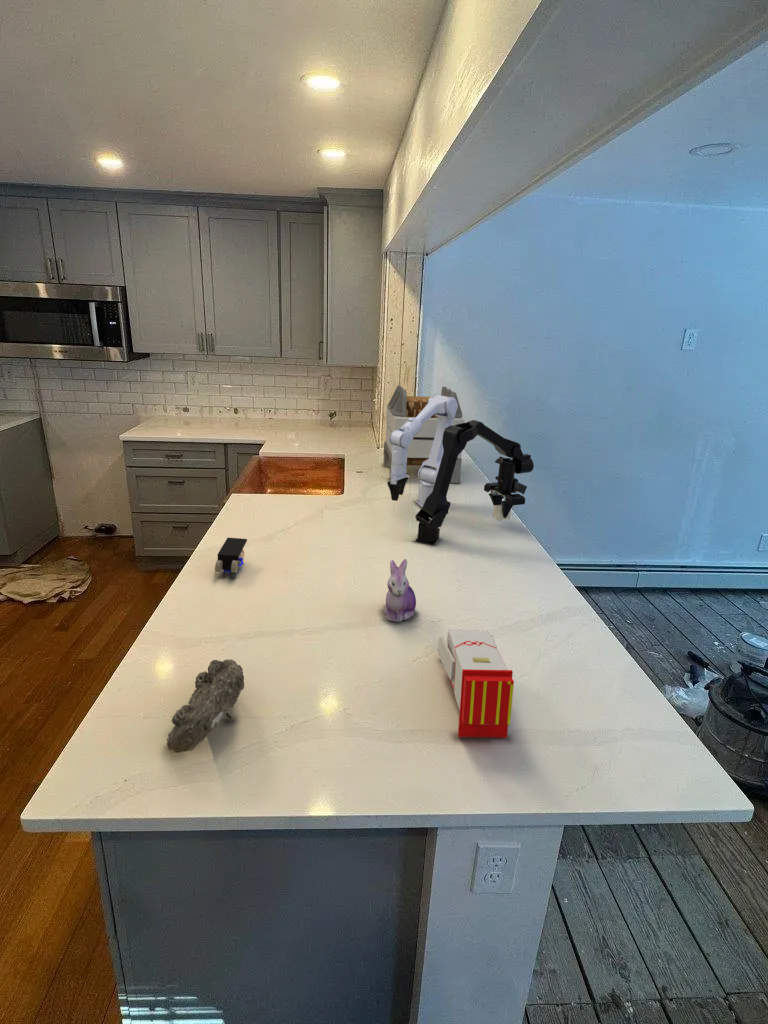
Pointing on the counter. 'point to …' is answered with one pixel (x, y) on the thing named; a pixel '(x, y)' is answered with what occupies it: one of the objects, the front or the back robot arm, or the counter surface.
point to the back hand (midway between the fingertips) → (397, 497)
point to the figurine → (399, 594)
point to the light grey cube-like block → (499, 513)
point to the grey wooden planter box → (422, 442)
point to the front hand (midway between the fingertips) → (501, 515)
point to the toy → (478, 682)
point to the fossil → (206, 705)
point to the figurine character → (230, 556)
